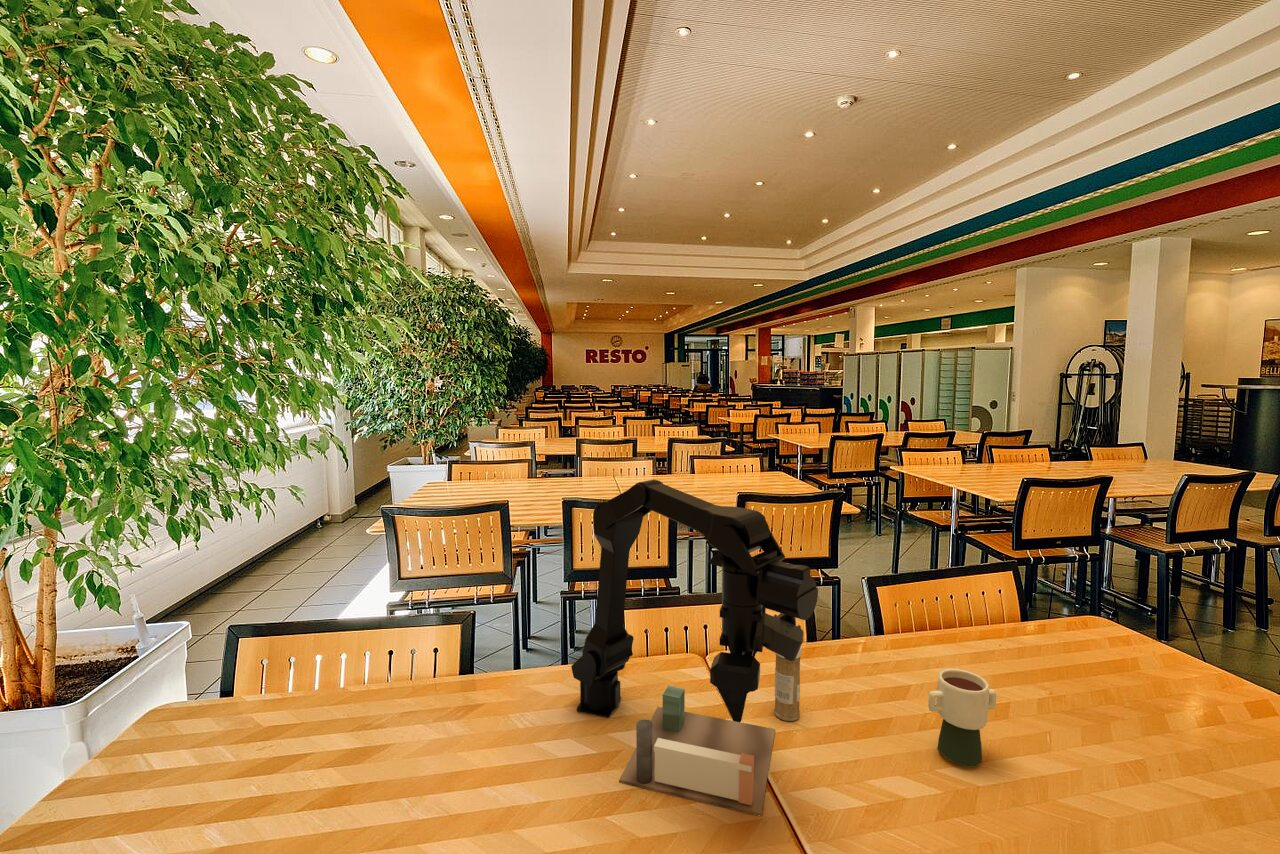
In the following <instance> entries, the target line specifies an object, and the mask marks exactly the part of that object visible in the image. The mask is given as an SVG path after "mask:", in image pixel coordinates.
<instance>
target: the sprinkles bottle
mask: <svg viewBox="0 0 1280 854" xmlns="http://www.w3.org/2000/svg"><path fill="white" fill-rule="evenodd" d="M802 648H803V647H802V646H801V647H800V650H799V652H798V654H797V657H796V659H795V661H789V660H787V659H785V658H784V657H783V656H781V655H779V654H777V653H775V652H774V653H775V668H774V698H775V699H774V708H773V713H774V716H775V717H776V718H778V719H780V720H781V719H782V720H781V721H785V722H794V721H797V720H798V719H799V718H800V716H801V713H800V699H801V657H802V652H803V651H802Z"/></svg>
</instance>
